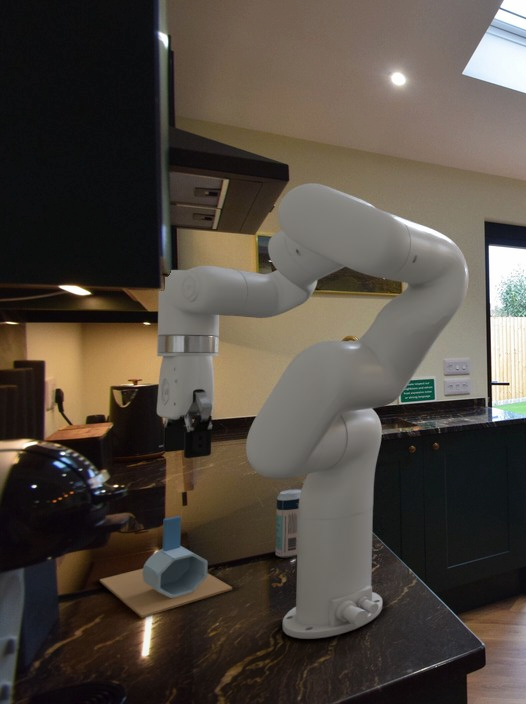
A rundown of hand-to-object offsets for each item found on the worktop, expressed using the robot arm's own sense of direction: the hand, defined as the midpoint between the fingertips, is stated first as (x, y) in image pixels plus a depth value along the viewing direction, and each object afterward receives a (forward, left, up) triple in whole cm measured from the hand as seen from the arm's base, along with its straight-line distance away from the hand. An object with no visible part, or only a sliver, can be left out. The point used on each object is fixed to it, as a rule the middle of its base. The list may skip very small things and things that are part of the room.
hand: (186, 453), depth 84 cm
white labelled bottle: (+4, -17, -23) cm, 29 cm away
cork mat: (+6, +1, -22) cm, 23 cm away
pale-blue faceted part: (+2, +1, -22) cm, 22 cm away
